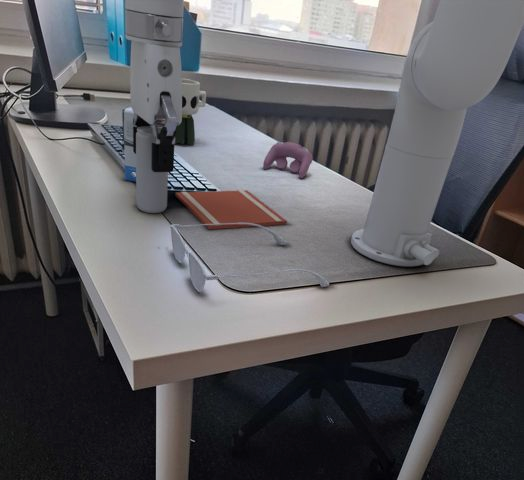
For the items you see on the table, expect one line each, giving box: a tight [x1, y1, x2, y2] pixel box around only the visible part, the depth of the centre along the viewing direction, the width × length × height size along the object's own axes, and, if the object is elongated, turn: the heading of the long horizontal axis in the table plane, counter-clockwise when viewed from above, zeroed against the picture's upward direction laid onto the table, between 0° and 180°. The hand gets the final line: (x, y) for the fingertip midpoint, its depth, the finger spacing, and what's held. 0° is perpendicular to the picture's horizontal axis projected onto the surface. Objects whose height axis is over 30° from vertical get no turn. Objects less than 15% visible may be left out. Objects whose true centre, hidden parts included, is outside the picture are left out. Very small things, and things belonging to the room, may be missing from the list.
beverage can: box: [135, 126, 169, 214], centre depth 79 cm, size 5×5×12 cm
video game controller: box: [262, 141, 314, 179], centre depth 110 cm, size 10×5×7 cm, turn 65°
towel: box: [174, 189, 288, 230], centre depth 87 cm, size 15×14×1 cm
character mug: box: [175, 77, 207, 145], centre depth 115 cm, size 11×7×13 cm, turn 117°
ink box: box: [124, 106, 165, 183], centre depth 92 cm, size 8×5×12 cm, turn 168°
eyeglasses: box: [169, 223, 330, 293], centre depth 68 cm, size 15×18×4 cm
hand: (152, 161), depth 78 cm, fingers open, 8 cm apart
